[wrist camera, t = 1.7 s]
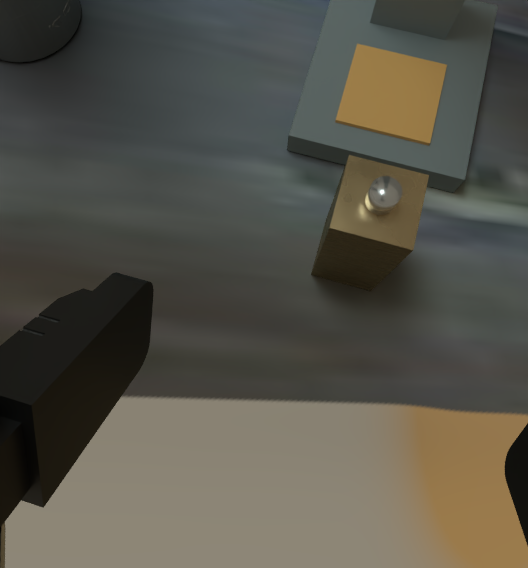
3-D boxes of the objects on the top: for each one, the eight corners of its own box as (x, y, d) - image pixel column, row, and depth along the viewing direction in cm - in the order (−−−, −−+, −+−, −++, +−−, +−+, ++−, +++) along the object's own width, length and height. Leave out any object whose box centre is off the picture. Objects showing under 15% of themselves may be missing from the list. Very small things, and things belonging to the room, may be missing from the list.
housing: (311, 274, 31) (333, 218, 21) (326, 219, 32) (353, 142, 22) (370, 291, 31) (421, 242, 21) (383, 235, 32) (437, 163, 22)
